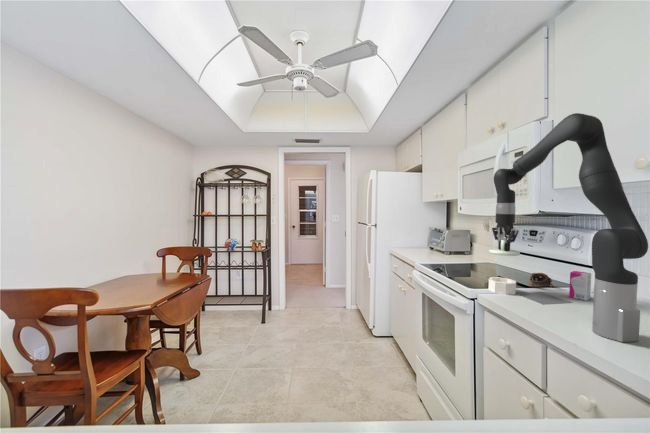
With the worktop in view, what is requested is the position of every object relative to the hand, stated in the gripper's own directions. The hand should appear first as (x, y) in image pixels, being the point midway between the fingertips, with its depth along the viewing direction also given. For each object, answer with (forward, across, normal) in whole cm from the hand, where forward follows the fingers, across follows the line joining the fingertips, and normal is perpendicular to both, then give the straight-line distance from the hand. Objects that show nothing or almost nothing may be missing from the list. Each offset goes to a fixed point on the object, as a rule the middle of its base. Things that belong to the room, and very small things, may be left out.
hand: (503, 250), depth 129 cm
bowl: (+19, 0, 0) cm, 19 cm away
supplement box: (+20, -13, -26) cm, 35 cm away
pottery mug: (+20, +4, -23) cm, 31 cm away
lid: (+1, 0, 0) cm, 1 cm away
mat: (+19, -11, -10) cm, 24 cm away
